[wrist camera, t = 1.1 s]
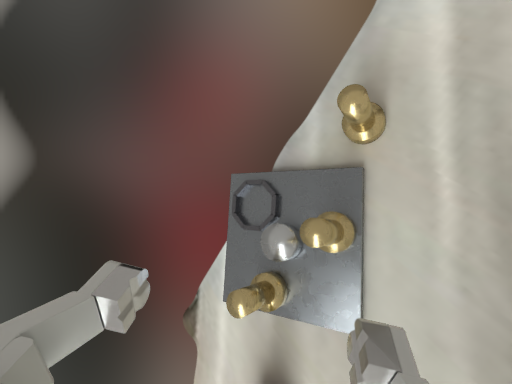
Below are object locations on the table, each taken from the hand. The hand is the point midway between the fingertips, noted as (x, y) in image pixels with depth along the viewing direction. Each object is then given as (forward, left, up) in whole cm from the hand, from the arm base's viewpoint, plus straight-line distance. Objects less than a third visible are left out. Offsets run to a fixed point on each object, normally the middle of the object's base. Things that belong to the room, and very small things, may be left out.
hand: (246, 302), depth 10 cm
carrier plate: (+13, 0, -34) cm, 36 cm away
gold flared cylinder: (+1, -19, -34) cm, 39 cm away
